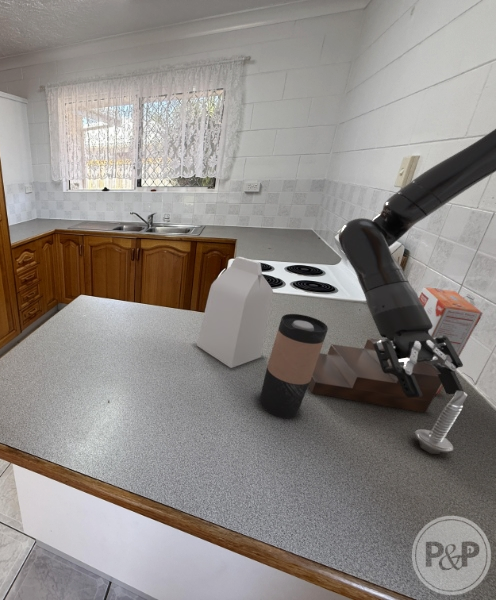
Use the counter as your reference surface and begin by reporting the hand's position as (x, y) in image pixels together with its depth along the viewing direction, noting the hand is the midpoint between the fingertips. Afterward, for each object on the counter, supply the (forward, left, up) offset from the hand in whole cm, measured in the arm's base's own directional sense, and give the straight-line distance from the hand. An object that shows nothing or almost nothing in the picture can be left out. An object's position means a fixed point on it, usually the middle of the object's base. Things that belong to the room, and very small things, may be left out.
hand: (435, 395), depth 55 cm
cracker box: (-12, -24, -10) cm, 28 cm away
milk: (+31, -22, -10) cm, 39 cm away
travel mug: (+23, -2, -10) cm, 25 cm away
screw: (-1, +2, -10) cm, 10 cm away
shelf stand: (+4, -16, -10) cm, 19 cm away
